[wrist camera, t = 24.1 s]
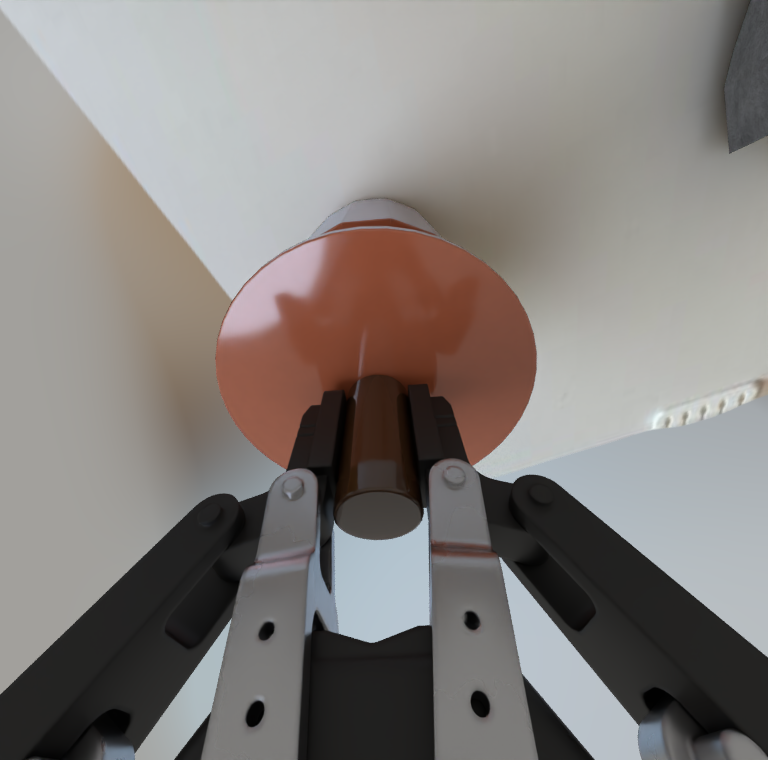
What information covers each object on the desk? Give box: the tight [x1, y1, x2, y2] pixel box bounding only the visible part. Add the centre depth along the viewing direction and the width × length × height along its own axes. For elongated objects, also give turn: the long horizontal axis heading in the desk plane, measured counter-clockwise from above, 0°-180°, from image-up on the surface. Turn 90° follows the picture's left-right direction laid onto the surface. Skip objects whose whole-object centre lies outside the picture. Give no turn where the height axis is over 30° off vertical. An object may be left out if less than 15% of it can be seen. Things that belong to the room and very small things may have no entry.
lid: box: [215, 226, 537, 540], centre depth 11 cm, size 12×12×6 cm
